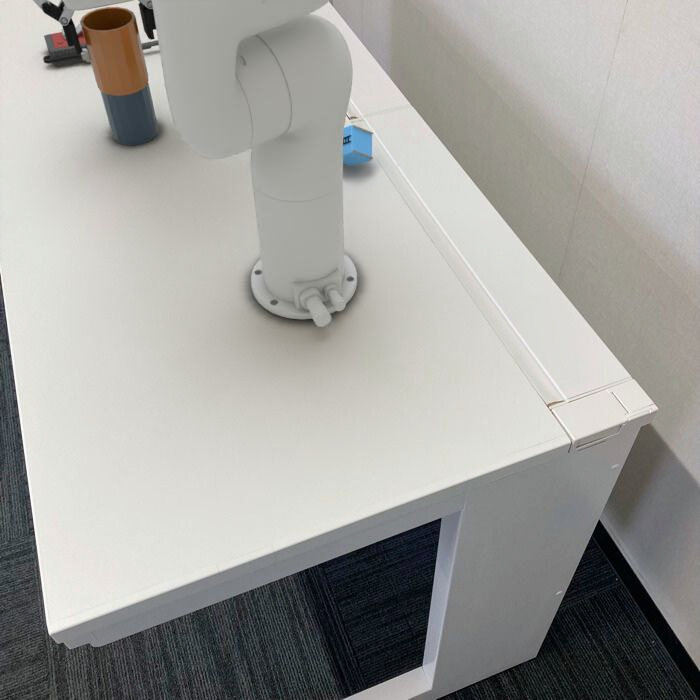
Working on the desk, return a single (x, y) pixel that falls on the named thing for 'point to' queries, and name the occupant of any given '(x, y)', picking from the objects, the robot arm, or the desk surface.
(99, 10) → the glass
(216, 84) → the robot arm
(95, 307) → the desk surface
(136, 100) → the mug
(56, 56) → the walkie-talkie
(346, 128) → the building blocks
